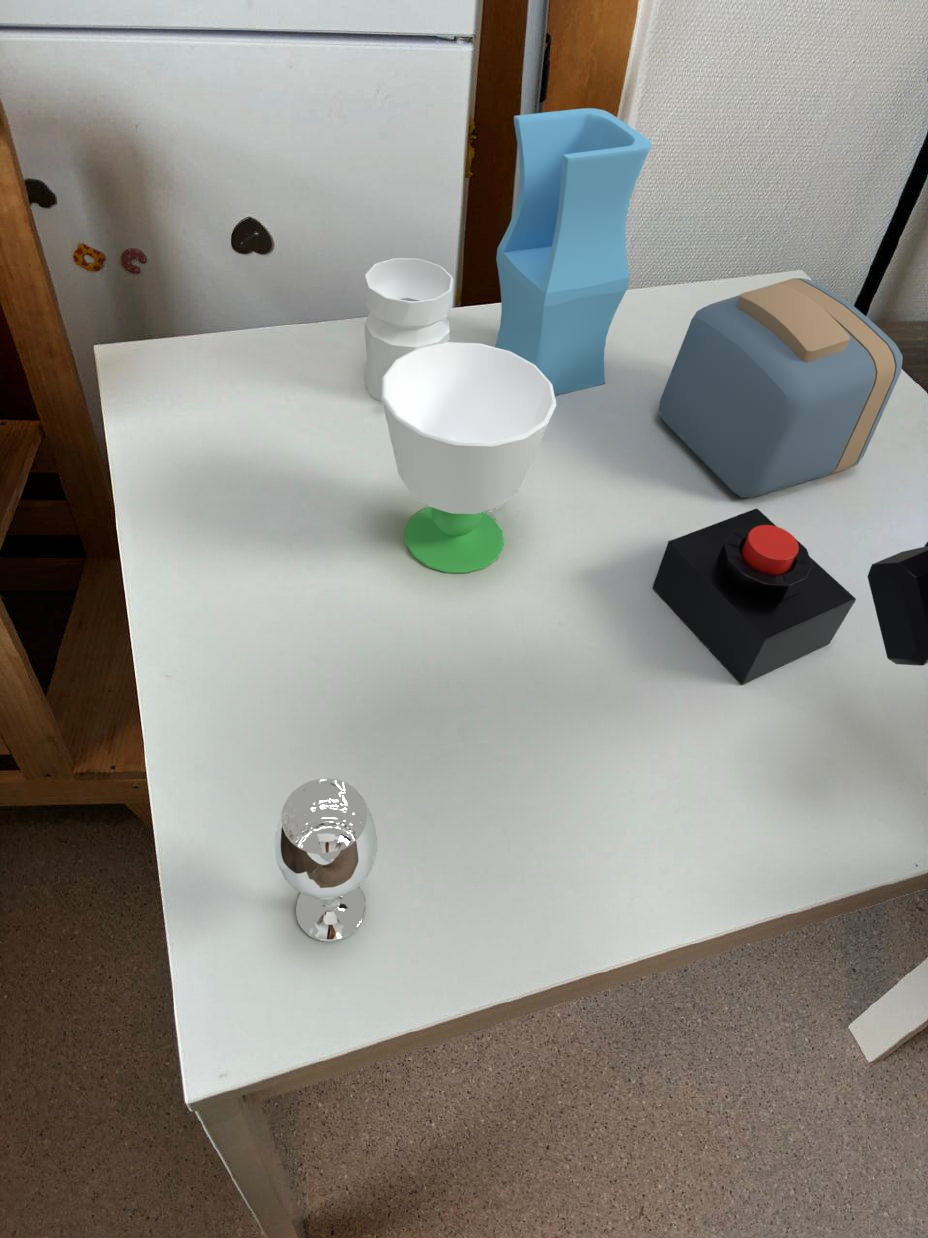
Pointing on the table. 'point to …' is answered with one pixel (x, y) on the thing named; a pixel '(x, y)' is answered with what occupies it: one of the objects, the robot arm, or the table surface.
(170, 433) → the table surface
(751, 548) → the button
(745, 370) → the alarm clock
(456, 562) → the cup
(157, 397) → the table surface
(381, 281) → the vase
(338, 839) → the wineglass
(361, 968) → the table surface
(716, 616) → the control block
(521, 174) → the vase
